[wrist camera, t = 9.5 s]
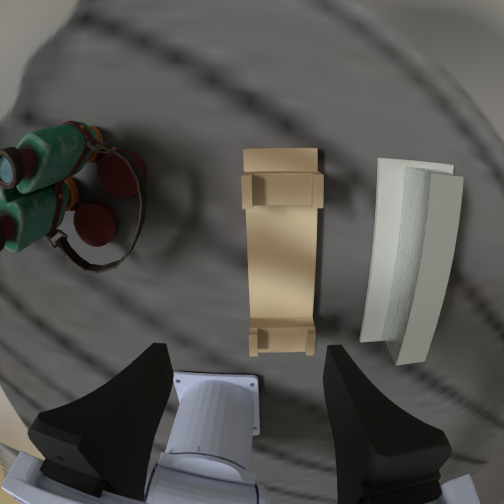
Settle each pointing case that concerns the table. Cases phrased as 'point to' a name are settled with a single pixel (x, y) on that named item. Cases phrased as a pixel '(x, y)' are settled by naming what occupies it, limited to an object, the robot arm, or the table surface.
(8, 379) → the table surface
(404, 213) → the rail
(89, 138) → the binoculars
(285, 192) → the rack
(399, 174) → the mat
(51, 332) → the table surface
